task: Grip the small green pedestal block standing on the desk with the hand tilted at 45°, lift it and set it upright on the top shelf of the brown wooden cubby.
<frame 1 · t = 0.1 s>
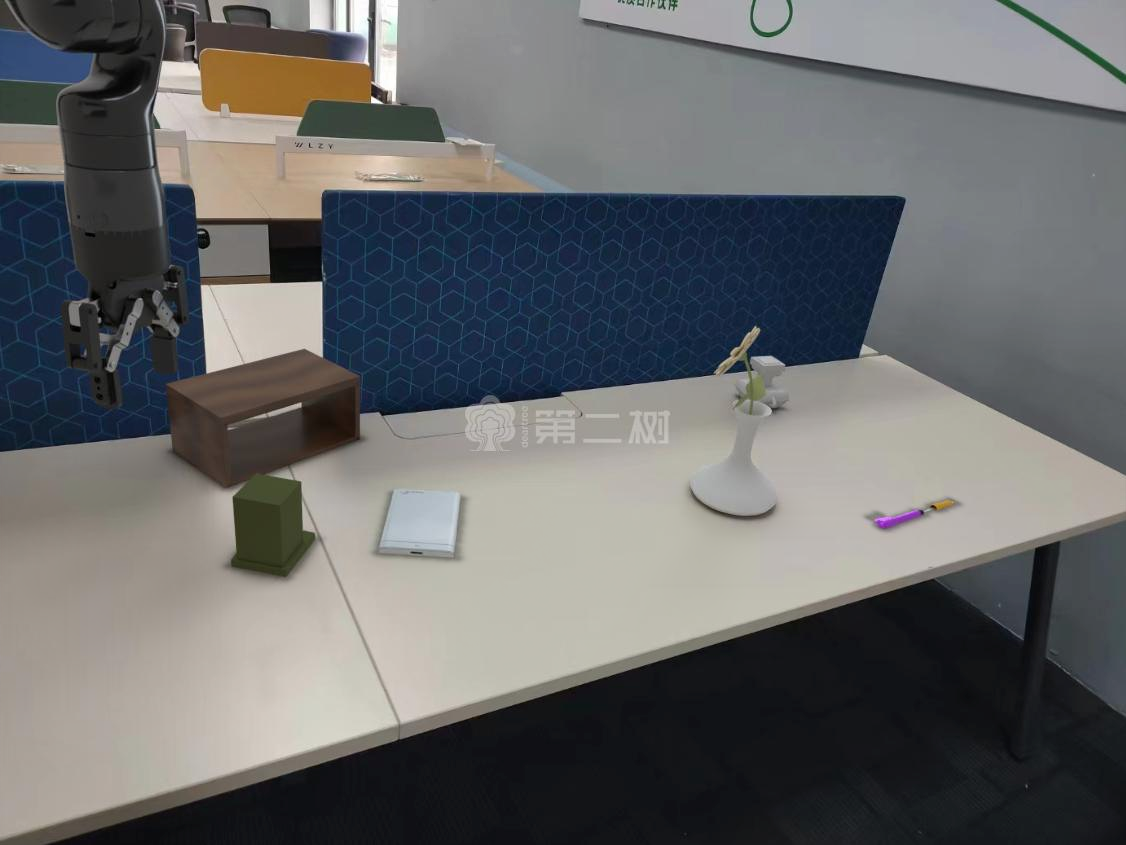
hand: (139, 388, 79), 20 cm above the table, tool pointing down, fingers open, 8 cm apart
green pedestal block: (271, 561, 90), on the table
stamp: (758, 407, 142), on the table
hard drive: (421, 530, 98), on the table
purple and yellow rod: (910, 516, 114), on the table
flower in vase: (726, 504, 111), on the table
brown wooden cubby: (270, 449, 111), on the table
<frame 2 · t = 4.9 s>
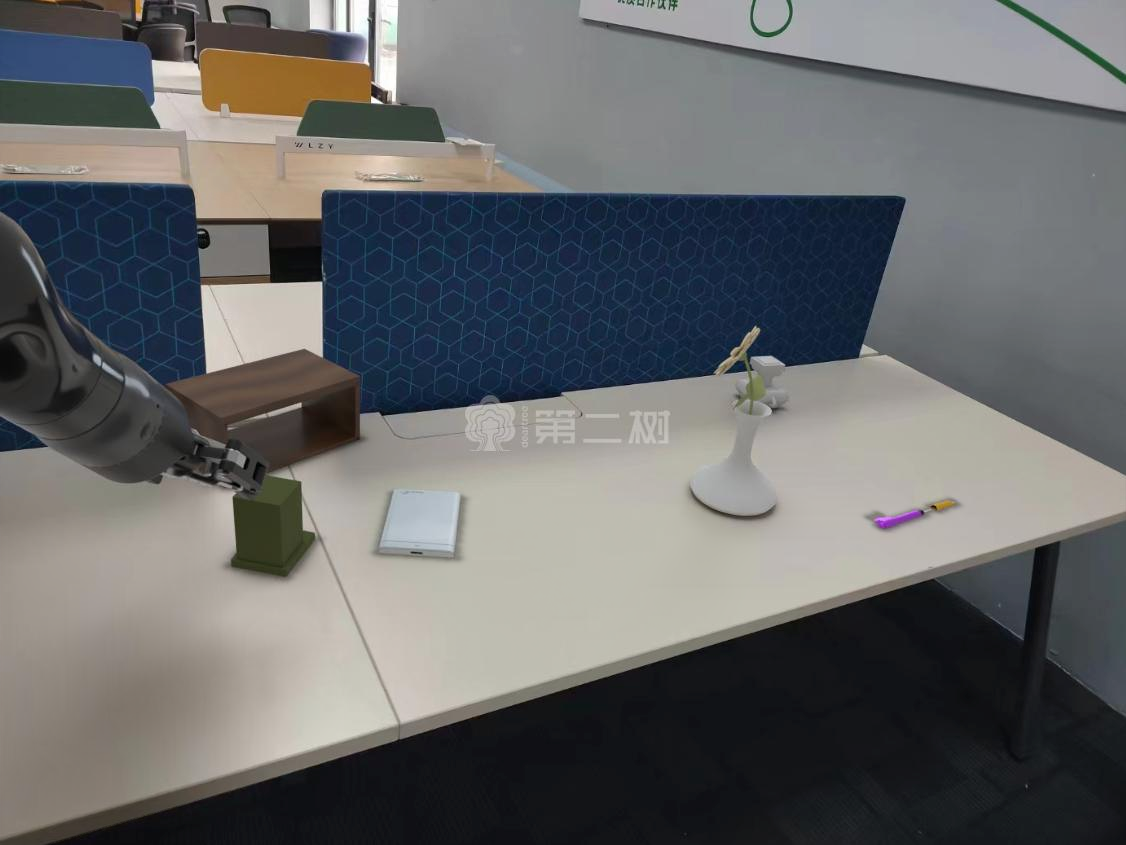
hand: (206, 480, 73), 16 cm above the table, tool tilted 45°, fingers open, 8 cm apart
nothing on the table moved.
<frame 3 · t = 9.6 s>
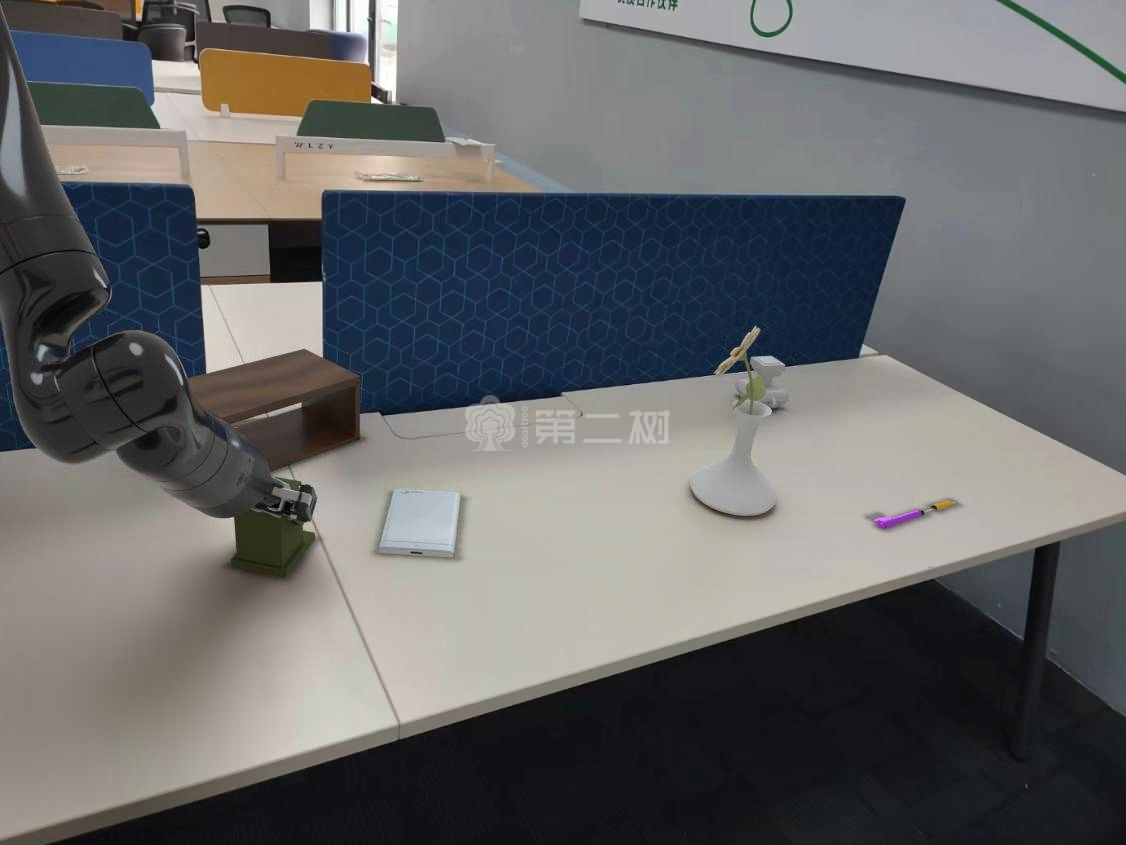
hand: (277, 511, 89), 5 cm above the table, tool tilted 45°, fingers closed on green pedestal block, 5 cm apart
green pedestal block: (271, 561, 90), on the table, touching gripper
everything else where it was.
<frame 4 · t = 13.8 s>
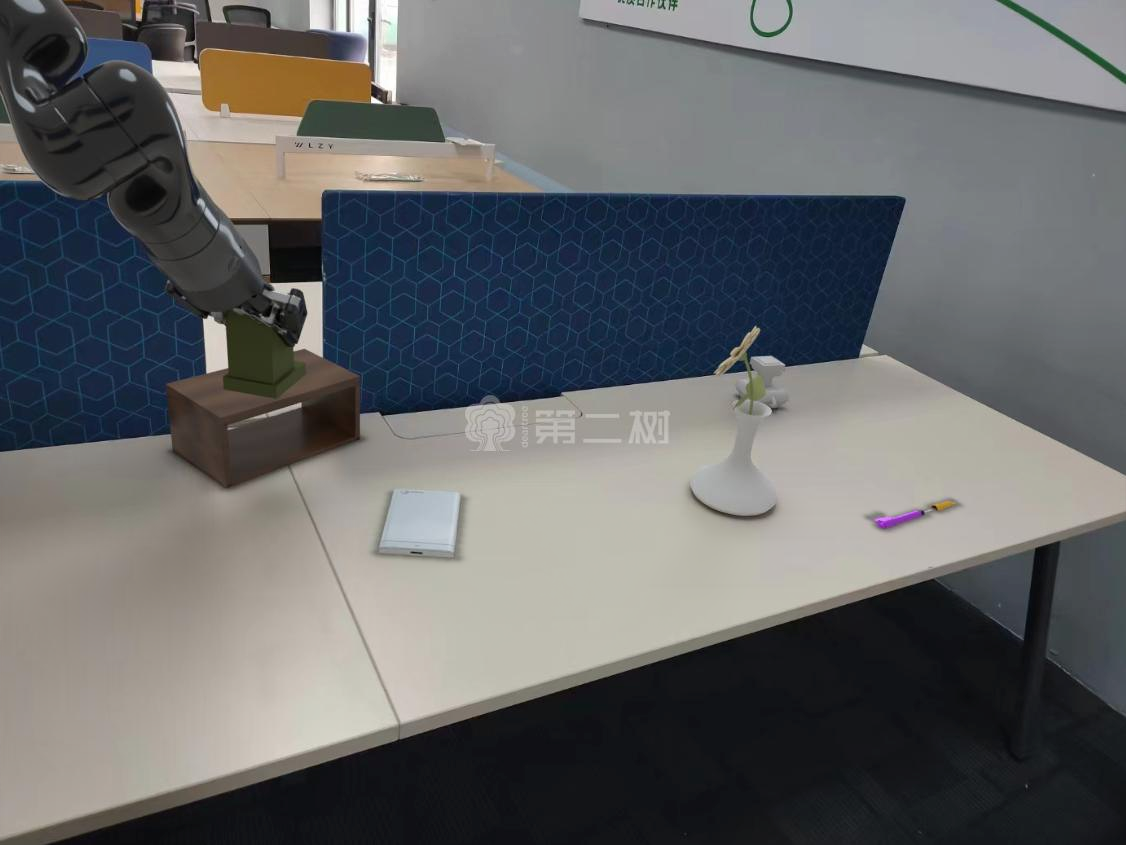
hand: (268, 334, 91), 21 cm above the table, tool tilted 45°, fingers closed on green pedestal block, 5 cm apart
green pedestal block: (262, 384, 92), point 16 cm above the table, touching gripper
everything else where it was.
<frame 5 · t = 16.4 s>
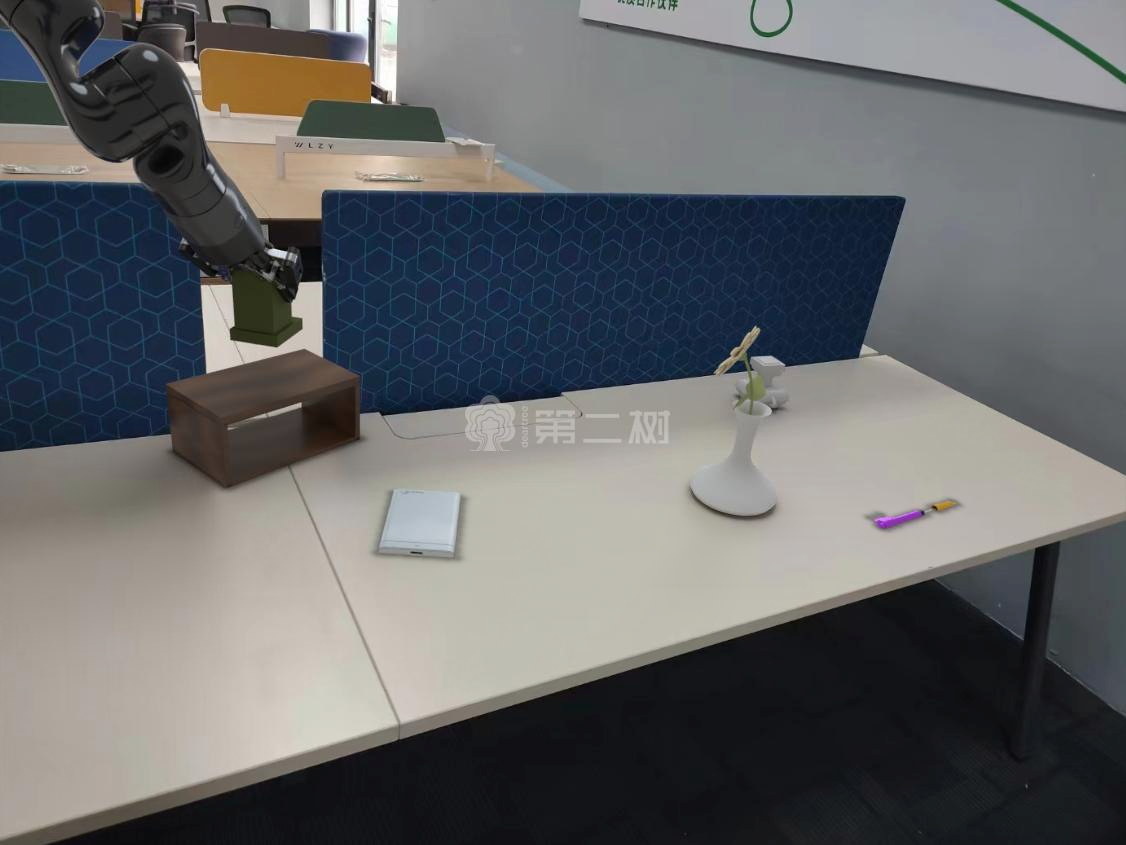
hand: (269, 292, 103), 21 cm above the table, tool tilted 45°, fingers closed on green pedestal block, 5 cm apart
green pedestal block: (264, 336, 104), point 16 cm above the table, touching gripper
everything else where it was.
when the fingers open (15 cm above the table, at t = 18.5 s): green pedestal block stays where it is, resting on brown wooden cubby.
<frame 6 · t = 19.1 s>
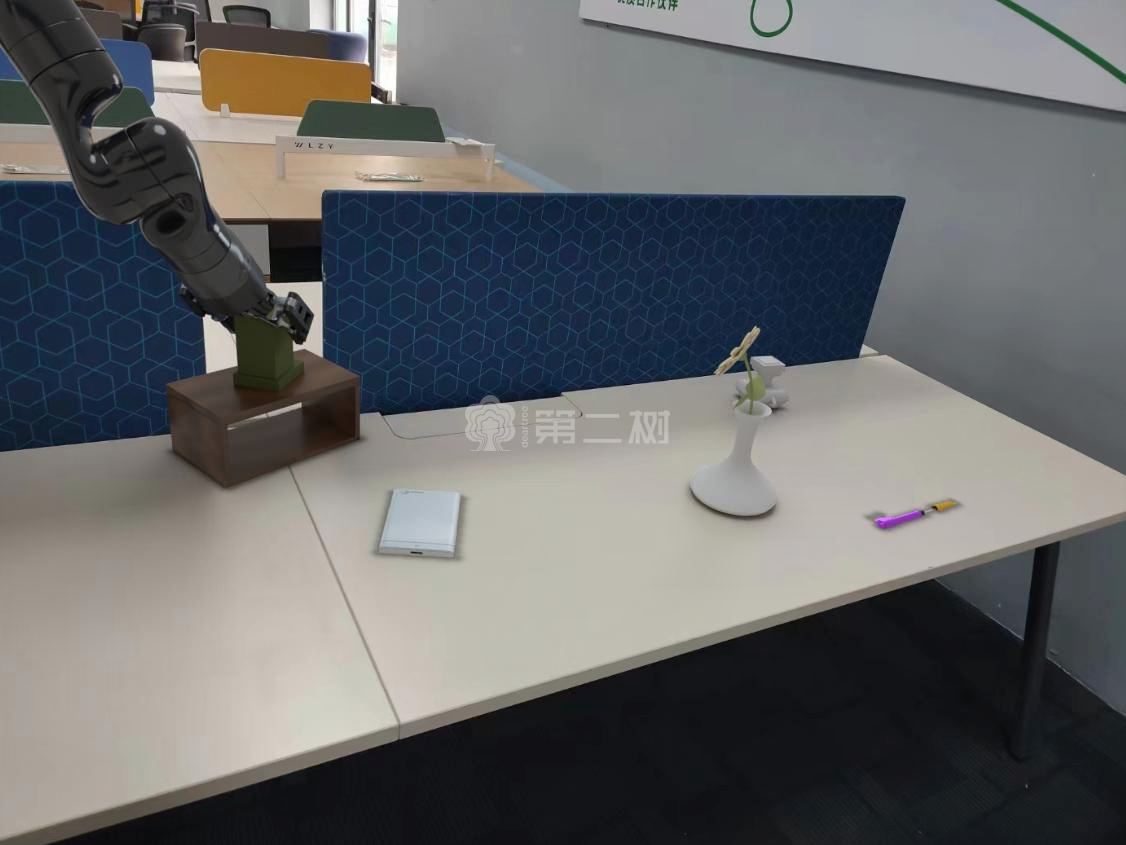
hand: (269, 332, 105), 16 cm above the table, tool tilted 45°, fingers open, 8 cm apart
green pedestal block: (266, 380, 106), point 10 cm above the table, touching brown wooden cubby
everything else where it was.
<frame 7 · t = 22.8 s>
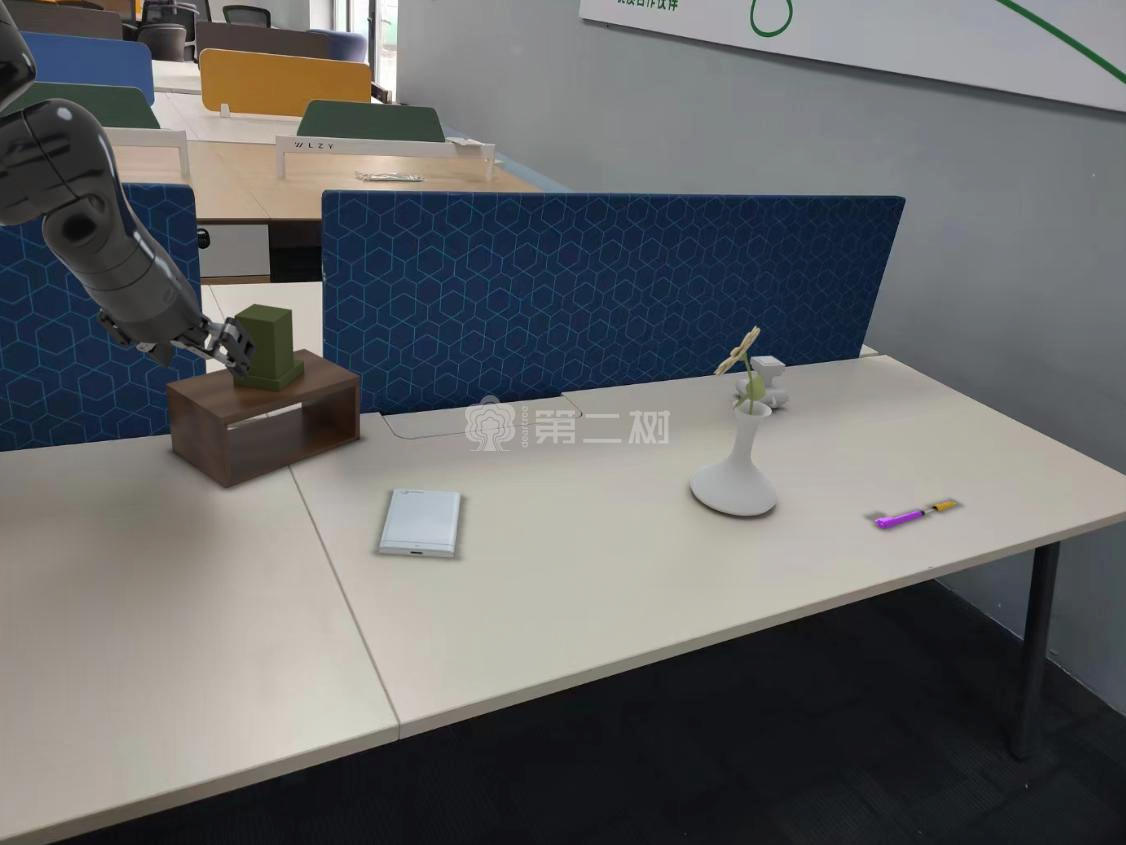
hand: (205, 366, 92), 17 cm above the table, tool tilted 40°, fingers open, 8 cm apart
nothing on the table moved.
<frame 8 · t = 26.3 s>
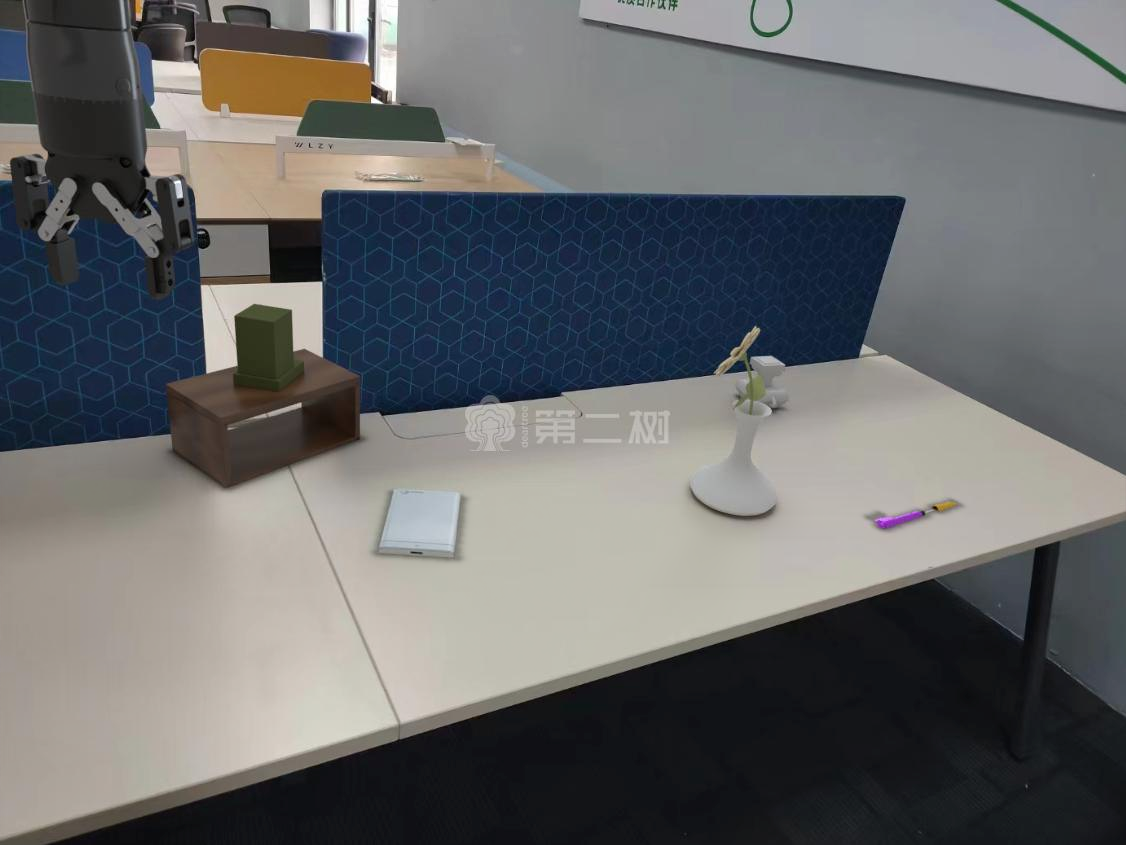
hand: (113, 289, 72), 30 cm above the table, tool pointing down, fingers open, 8 cm apart
nothing on the table moved.
at the end: green pedestal block inside the target area on the brown wooden cubby (0.1 cm from its centre), point 10.0 cm above the brown wooden cubby's base; green pedestal block tilted 0°; the gripper is holding nothing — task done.
